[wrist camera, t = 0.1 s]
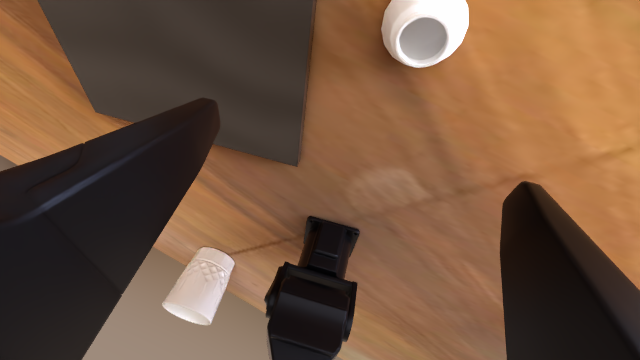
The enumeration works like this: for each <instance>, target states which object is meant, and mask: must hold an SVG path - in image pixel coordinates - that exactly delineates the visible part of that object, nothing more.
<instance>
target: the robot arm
mask: <svg viewBox="0 0 640 360" xmlns="http://www.w3.org/2000/svg"><path fill="white" fill-rule="evenodd" d="M219 129H220V116H219V109H218V104H217V102H216V101H215V100H212V99H208V98H199V99H197V100H194V101H191V102H189V103H186V104H184V105H181V106H178V107H176V108H173V109H170V110H168V111H165V112H163V113H160V114H157V115H155V116H152V117H150V118H147V119H144V120H142V121H139V122H137V123H134V124H131V125H129V126H126V127H123V128H121V129H118V130H116V131H113V132H110V133H108V134H105V135H103V136H100V137H97V138H95V139H92V140H89V141H87V142H85V144H83V143H81V144H79V145H76V146H74V147H71V148H68V149H66V150H63V151H60V152H58V153H55V154H52V155H49V156H47V157H44V158H41V159H38V160H35V161H32V162H28V163H25V164H22V165H19V166H16V167H13V168H10V169H7V170H3V171H1V172H0V360H82V358H83V357H84V355H85V353H86V352H87V350H88V349H89V347H90V346H91V344H92V342H93V341H94V339H95V338H96V336H97V334H98V333H99V331H100V330H101V328H102V326H103V325H104V323H105V322H106V320H107V319H108V317H109V315H110V314H111V312H112V311H113V309H114V307H115V306H116V304H117V303H118V301H119V299H120V298H121V296H122V295H121V294H123V293H124V291H125V289H126V288H127V286H128V285H129V283H130V282H131V280H132V278H133V277H134V275H135V273H136V272H137V270H138V269H139V267H140V266H141V264H142V262H143V260H144V259H145V258H146V256H147V254H148V253H149V251H150V250H151V248H152V246H153V245H154V243H155V242H156V240H157V238H158V237H159V235H160V234H161V232H162V230H163V229H164V227H165V226H166V224H167V223H168V221H169V219H170V218H171V216H172V215H173V213H174V211H175V210H176V208H177V207H178V205H179V203H180V202H181V200H182V199H183V197H184V195H185V194H186V192H187V191H188V189H189V187H190V186H191V184H192V183H193V181H194V179H195V178H196V176H197V175H198V173H199V171H200V170H201V168H202V166H203V164H204V162H205V160H206V157H207V155H208V153H209V151H210V149H211V147H212V145H213V142H214V140H215V138H216V136H217V134H218V132H219ZM359 232H360V231H359V230H358V229H355V228H351V227H348V226H344V225H341V224H337V223H334V222H330V221H326V220H323V219H319V218H316V217H312V216H309V217H308V219H307V224H306V230H305V237H304V247H303V250H302V254H301V257H300V260H299V263H298V266H296V265H293V264H290V263H289V262H286V261H285V263H284V265H283V266H281V267H279V268H278V271H277V274H276V276H275V279H274V281H273V283H272V285H271V287H270V288H269V290H268V292H267V294H266V296H265V299H264V301H265V303H266V305H267V307H266V310H267V311H266V317H267V318H270V320H269V323H268V326H267V347H268V352H269V359H270V360H334V359H335V357H336V356H337V354H338V353H339V351H340V349H341V345H342V341H344V342H347V340H348V337H349V334H350V331H351V327H352V322H353V317H354V309H355V300H356V291H357V282H350V281H347V280H344V278H345V273H346V268H347V263H348V259H349V257H350V255H351V253H352V251H353V248H354V246H355V243H356V241H357V239H358V236H359ZM500 263H501V278H502V293H503V307H504V322H505V337H506V352H507V360H640V290H639V289H638V288H637V287H636V286H635V285H634V284H633V283H632V282H631V281H630V280H629V279H628V278H627V277H626V276H625V275H624V273H623V272H622V271H621V270H620V269H619V268H618V267H617V266H616V265H615V264H614V263H613V262H612V261H611V260H610V259H609V258H608V257H607V255H606V254H605V253H604V252H603V251H602V250H601V249H600V248H599V247H598V246H597V245H596V244H595V243H594V242H593V241H592V240H591V239H590V237H589V236H588V235H587V234H586V233H585V232H584V231H583V230H582V229H581V228H580V227H579V226H578V225H577V224H576V223H575V222H574V220H573V219H572V218H571V217H570V216H569V215H568V214H567V213H566V212H565V211H564V210H563V209H562V208H561V207H560V206H559V205H558V204H557V202H556V201H555V200H554V199H553V198H552V197H551V196H550V195H549V194H548V193H547V192H546V191H545V190H544V189H543V188H542V187H541V186H540V185H538V184H535V183H531V182H527V181H523V182H521V183H520V184H519V185H518V186H517V187H516V188H515V189H514V190H513V191H512V192H511V193H510V194H509V195H508V196H507V197H506V199H505V200H504V203H503V208H502V224H501V240H500Z"/></svg>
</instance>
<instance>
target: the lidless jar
mask: <svg viewBox="0 0 640 360" xmlns="http://www.w3.org/2000/svg"><path fill="white" fill-rule="evenodd" d="M467 28H468V5H467V3H466V1H465V0H391V2H390V4H389V5H388V7H387V8H386V10H385V13H384V18H383V23H382V28H381V31H382V36H383V42H384V45H385V47H386V48H387V50H388V51H389V53H390V54H391V56H392V57H393V58H395V59H396V60H398V61H400V62H401V63H403V64H404V65H407V66H412V67H417V68H422V67H428V66H431V65H434V64H436V63H438V62H440V61H442V60H443V59H445V58H447V57H449V56H450V55H451V54H452V53H453V52H454V51H455V49H456V48H457V47H458V46H459V45H460V44H461V43H462V40H463V38H464V35H465V33H466V30H467Z"/></svg>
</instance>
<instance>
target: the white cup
mask: <svg viewBox="0 0 640 360" xmlns="http://www.w3.org/2000/svg"><path fill="white" fill-rule="evenodd" d="M234 264H235V263H234V261H233V259H232V258H231V257H229V256H228V255H227V254H225V253H224V252H222V251H220V250H217V249H214V248H210V247H202V248H200V249H198V251H197V252H196V254H195V256H194V257H193V259H192V261H191V262H190V263H189V264H188V265H187V267H186V268H185V270H184V272H183V273H182V274H181V276H180V277H179V279H178V281H177V282H176V283H175V285H174V286H173V288H172V290H171V291H170V293H169V294H168V296H167V297H166V299H165V300H164V302H163V304H162V306H163V307H164V308H165V309H166V310H167V311H169V312H170V313H172V314H174V315H175V316H177V317H180V318H182V319H184V320H187V321H190V322H193V323H197V324H201V325H209V324H211V322H212V320H213V317H214V315H215V313H216V310H217V308H218V306H219V303H220V301H221V298H222V296H223V294H224V291H225V289H226V286H227V283H228V281H229V277H230V274H231V272H232V270H233V268H234Z"/></svg>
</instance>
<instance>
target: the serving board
mask: <svg viewBox="0 0 640 360" xmlns="http://www.w3.org/2000/svg"><path fill="white" fill-rule="evenodd" d="M38 2H39V4H40V6H41V8H42V10H43V12H44V14H45V16H46V18H47V20H48V21H49V23H50V25H51V27H52V29H53V31H54V33H55V35H56V37H57V39H58V41H59V43H60V45H61V46H62V48H63V50H64V52H65V54H66V56H67V58H68V60H69V62H70V64H71V66H72V68H73V70H74V72H75V73H76V75H77V77H78V79H79V81H80V83H81V85H82V87H83V89H84V91H85V93H86V95H87V97H88V98H89V100H90V102H91V104H92V106H93V108H94V110H95V112H97V113H101V114H104V115H108V116H112V117H115V118H119V119H123V120H127V121H130V122H134V123H137V122H139V121H142V120H144V119H147V118H150V117H152V116H155V115H157V114H160V113H163V112H165V111H168V110H170V109H173V108H176V107H178V106H181V105H184V104H186V103H189V102H191V101H194V100H197V99H199V98H208V99H212V100H215V101H216V102H217V104H218V109H219V116H220V129H219V132H218V134H217V136H216V138H215V140H214V142H213V144H215V145H219V146H223V147H226V148H230V149H234V150H237V151H241V152H245V153H248V154H252V155H256V156H259V157H263V158H267V159H270V160H274V161H278V162H282V163H285V164H289V165H293V166H296V167H297V166H298V164H299V162H300V156H301V147H302V137H303V127H304V117H305V108H306V98H307V88H308V78H309V68H310V59H311V49H312V39H313V29H314V20H315V10H316V0H38Z"/></svg>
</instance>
